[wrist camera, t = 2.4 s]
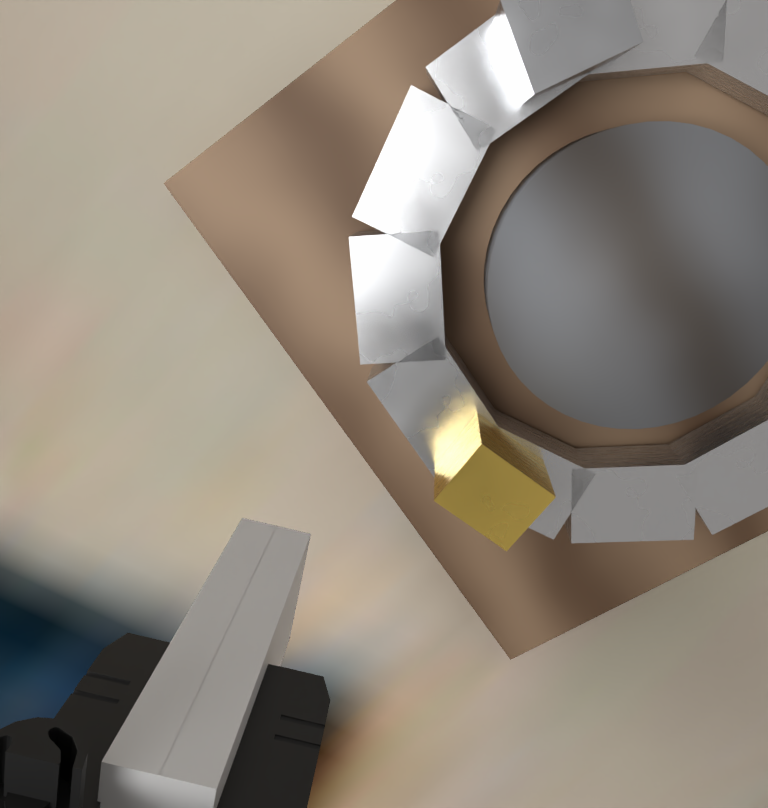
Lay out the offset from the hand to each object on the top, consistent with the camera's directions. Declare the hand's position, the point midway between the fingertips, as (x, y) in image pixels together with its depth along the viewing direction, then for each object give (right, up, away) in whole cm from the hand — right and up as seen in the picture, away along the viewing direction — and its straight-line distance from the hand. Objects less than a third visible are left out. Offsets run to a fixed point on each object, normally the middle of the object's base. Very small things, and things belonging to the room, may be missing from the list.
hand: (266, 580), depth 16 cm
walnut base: (+11, +9, +12) cm, 19 cm away
